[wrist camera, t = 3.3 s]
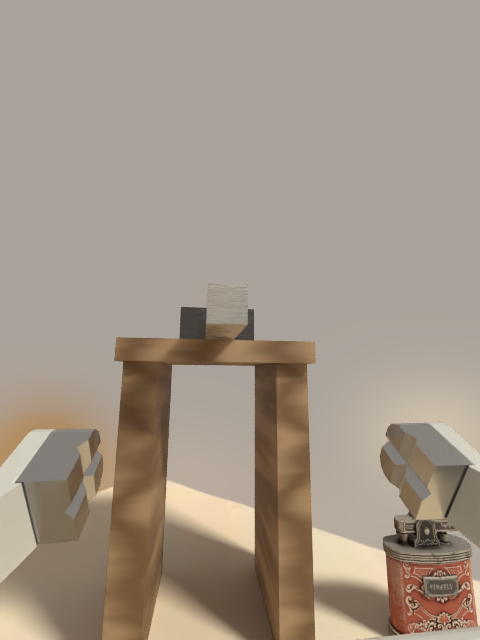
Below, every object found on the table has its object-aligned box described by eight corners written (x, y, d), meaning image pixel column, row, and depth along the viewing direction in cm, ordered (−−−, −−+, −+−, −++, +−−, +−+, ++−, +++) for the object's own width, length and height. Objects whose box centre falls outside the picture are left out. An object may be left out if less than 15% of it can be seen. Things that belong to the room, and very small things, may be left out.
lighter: (403, 656, 24) (393, 523, 26) (381, 621, 28) (373, 506, 29) (493, 649, 25) (478, 520, 27) (460, 617, 28) (449, 504, 30)
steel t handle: (159, 322, 17) (163, 257, 18) (182, 347, 35) (183, 314, 36) (291, 325, 18) (290, 264, 19) (248, 348, 36) (248, 316, 36)
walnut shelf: (85, 698, 21) (116, 337, 25) (132, 568, 35) (147, 349, 39) (326, 670, 23) (314, 341, 28) (280, 559, 37) (278, 351, 41)
